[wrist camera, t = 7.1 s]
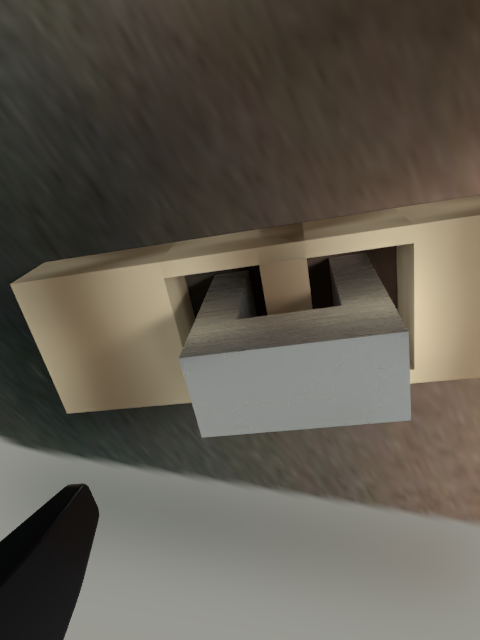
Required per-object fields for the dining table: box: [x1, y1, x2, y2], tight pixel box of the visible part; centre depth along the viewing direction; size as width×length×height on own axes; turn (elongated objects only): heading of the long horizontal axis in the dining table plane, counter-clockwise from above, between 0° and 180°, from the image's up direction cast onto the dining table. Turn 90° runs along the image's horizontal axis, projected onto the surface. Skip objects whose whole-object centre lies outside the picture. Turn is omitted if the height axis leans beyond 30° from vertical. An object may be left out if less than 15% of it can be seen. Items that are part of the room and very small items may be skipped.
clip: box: [179, 253, 411, 437], centre depth 14 cm, size 6×3×6 cm, turn 101°
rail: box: [10, 195, 480, 414], centre depth 16 cm, size 20×6×2 cm, turn 100°
